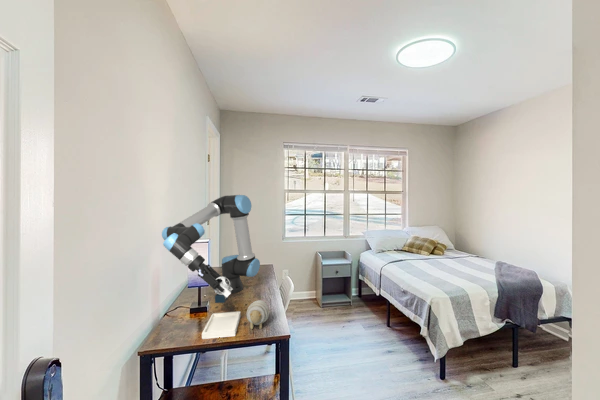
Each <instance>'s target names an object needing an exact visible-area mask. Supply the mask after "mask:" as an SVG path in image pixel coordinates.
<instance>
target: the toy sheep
mask: <svg viewBox="0 0 600 400" xmlns="http://www.w3.org/2000/svg"><path fill="white" fill-rule="evenodd" d="M269 316H270V308H269V305H268V304H267V303H266V301H264V300H262V299H259V300H255V301H253V302H252V303H250V304H249V306H248V307H247V310H246V318H247V321H248V322H249V323H250V324H249V325H250V329H251V330H253V329H254V326H258V328H259V330H262V329H263V324H264V323H265V322H266V321H267V320H268V319H269Z"/></svg>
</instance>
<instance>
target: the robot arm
mask: <svg viewBox="0 0 600 400" xmlns="http://www.w3.org/2000/svg"><path fill="white" fill-rule="evenodd" d="M251 210H252V202H251V200H250V198H249V197H248V196H247V195H245V194H234V195H223V196H220V197H217V198H216V199H214V200H213V201H211V202H209V203H207V206H206V207H203V208H202V209H201V210H199V211H197V212H195V213H193V214H192V215H190V216H188V217H187V218H185V219H183V220H182V221H180V222H179V223H176V224H174V225H172V226H166V227H165V228H163V230H162V231H161V237H162V239H163V240H164V241H163V242H162V245H163V247H164V248H165V249H166V250H167V251H168V252H170V253H171V254H172V256H174V257H175V258H176V259H178V261H180V262H181V264H183V265H184V266H187V268H188V269H189V270H190V271H191V272H195V271H197V276H198V277H199V278H201V280H203V281H204V282H206V284H208V286H210V287H211V288H212V289H213V291H214V290H215V289H218V290H219V292H221V293H222V294H223V295H224V296H225V297H228V298H229V296H230V295H231V294H235V293H240V292H241V291H243V289H244V286H243V282H242V280H241V277H247V278H249V277H252V278H253V277H255V276H257V274H258V273H259V270H260V267H261V262H260V260H259V259H258V258H256V254H255V253H253V250H252V243H251V242H252V241H251V236H250V229H249V224H248V217H249V215H250V214H249V213H250V212H251ZM225 214H229V218H230V219H232V221H233V226H234V232H235V233H234V234H235V238H236V244H237V252H238V254H231V255H226V256H224V257H222V258H221V275H220V273H218V272H217V271H216V270H215V269H214V268H213V267H212V266H211V265H210V264H205V263H204V262H205V261H206V259H205V258H204V257H203V256H202V255H201V254H200V255H199V252H197V250H195V249H194V248H193V247H192V246H193V245H194V244H195V243H196V242H198V241H199V240H200V239H201V237H203V236H204V235H205V227H204V226H203V224H205V223H206V222H208V221H210V220H211V219H213V218H214V217H215V218H217V217H219V216H221V215H225ZM218 277H226V278H228V280H229V281H230V289H229V290H228V289H227V288H226V287H225V286H224V284H223V282H222V280H221V279H217V278H218ZM216 279H217V280H216Z"/></svg>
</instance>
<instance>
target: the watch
mask: <svg viewBox="0 0 600 400" xmlns="http://www.w3.org/2000/svg"><path fill="white" fill-rule="evenodd" d="M217 279H221V280H222V282H223V284H224V286H225V287H226V288H227V289H228V290H229V289H230V281H229V280H228V278H226V277H218V278H217ZM217 279H216V280H217ZM213 291H214V293H215V295H214V303H216V304H221V303H222V304H225V303H226V302H227V300H228V299H229V296H228V297H225V296H224V295H223V294H222V293H221V292H220V291H219V290H218V289H215V290H214V289H213Z"/></svg>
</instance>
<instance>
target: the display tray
mask: <svg viewBox="0 0 600 400" xmlns="http://www.w3.org/2000/svg"><path fill="white" fill-rule="evenodd" d="M241 316H242V315H241V311H239V310H238V311H227V312H214V313H211V316H210V317H209V319H208V321H207V323H206V324H205V326H204V328H203V330H202V333H201V339H202V340H207V339H218V338H219V337H220V338H228V337H229V338H230V337H235V336H236V334H237V330H238V328H239V323H240V321H241Z"/></svg>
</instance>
